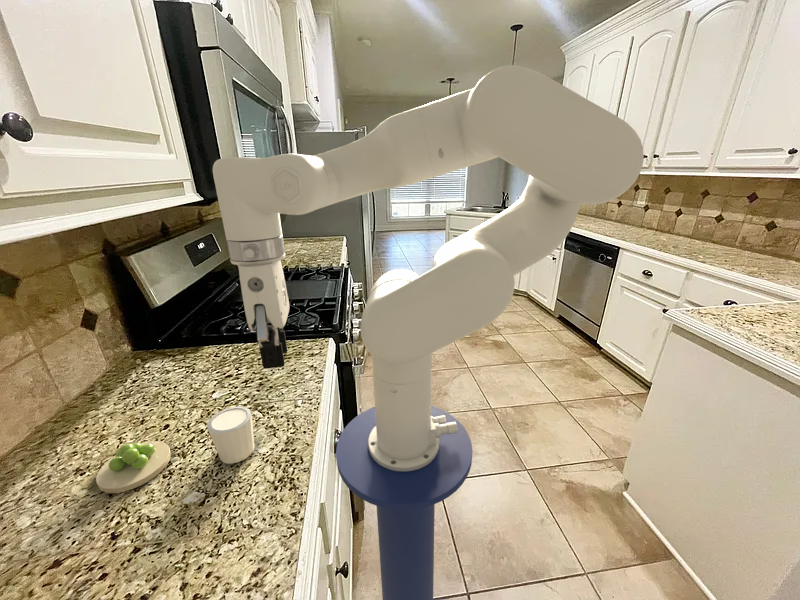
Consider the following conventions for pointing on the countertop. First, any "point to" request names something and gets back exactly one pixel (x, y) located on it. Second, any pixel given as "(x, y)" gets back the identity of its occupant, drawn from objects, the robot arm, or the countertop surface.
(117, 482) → the grape dish
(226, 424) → the white ramekin
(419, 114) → the robot arm
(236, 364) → the countertop surface
